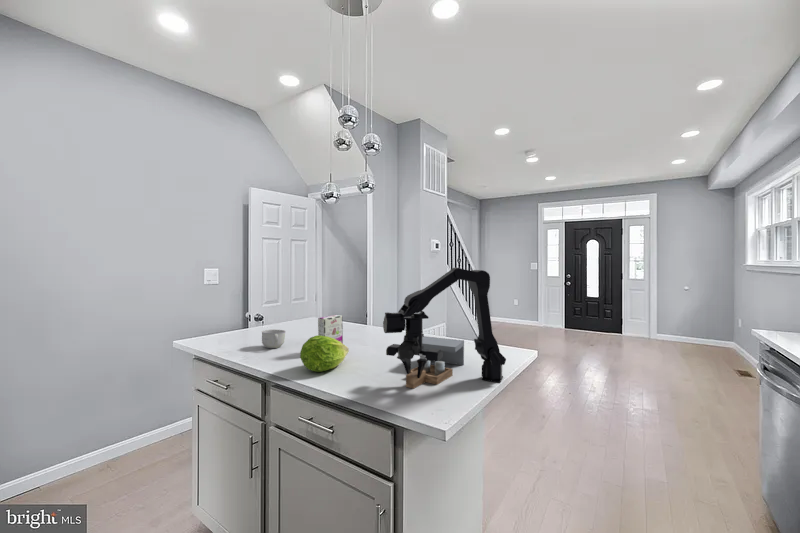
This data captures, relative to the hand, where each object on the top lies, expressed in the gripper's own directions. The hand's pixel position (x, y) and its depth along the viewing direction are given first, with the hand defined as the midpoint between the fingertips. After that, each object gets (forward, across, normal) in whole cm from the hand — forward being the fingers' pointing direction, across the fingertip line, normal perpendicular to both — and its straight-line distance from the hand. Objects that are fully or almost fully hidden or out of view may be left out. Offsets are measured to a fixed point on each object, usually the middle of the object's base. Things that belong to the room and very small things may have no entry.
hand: (413, 377), depth 123 cm
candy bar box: (+3, -52, +24) cm, 57 cm away
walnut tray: (+3, +1, +7) cm, 8 cm away
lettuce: (+3, -39, +5) cm, 40 cm away
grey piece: (+3, 0, +25) cm, 25 cm away
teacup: (+3, -81, +18) cm, 83 cm away
